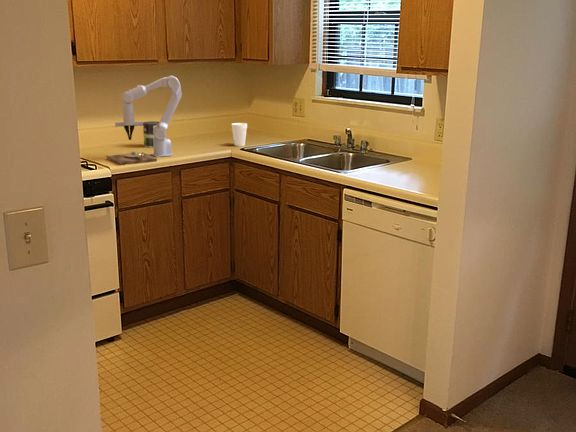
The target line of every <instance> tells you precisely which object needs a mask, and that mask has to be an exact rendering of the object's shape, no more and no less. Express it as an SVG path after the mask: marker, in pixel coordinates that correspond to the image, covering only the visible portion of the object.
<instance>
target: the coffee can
mask: <svg viewBox="0 0 576 432" xmlns="http://www.w3.org/2000/svg"><path fill="white" fill-rule="evenodd" d="M142 122H143V126H142V127H143V128H142V129H143V130H142V131H143V147H145V148H150V149H151V148H153V138H154V137H155V136H154V134H153V129H154V128H155V127H156V126H157V125H158V123H159V122H160V121H150V120H149V121H142Z"/></svg>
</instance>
